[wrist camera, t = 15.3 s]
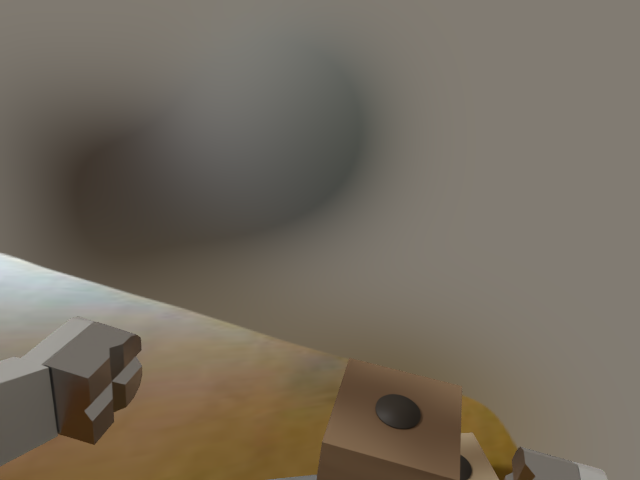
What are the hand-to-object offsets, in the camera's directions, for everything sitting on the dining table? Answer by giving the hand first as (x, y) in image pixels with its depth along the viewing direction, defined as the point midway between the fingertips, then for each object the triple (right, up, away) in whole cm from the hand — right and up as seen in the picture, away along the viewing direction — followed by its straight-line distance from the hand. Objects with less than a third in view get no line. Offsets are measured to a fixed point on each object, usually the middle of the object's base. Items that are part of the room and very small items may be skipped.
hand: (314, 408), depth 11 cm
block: (+2, -16, +16) cm, 23 cm away
